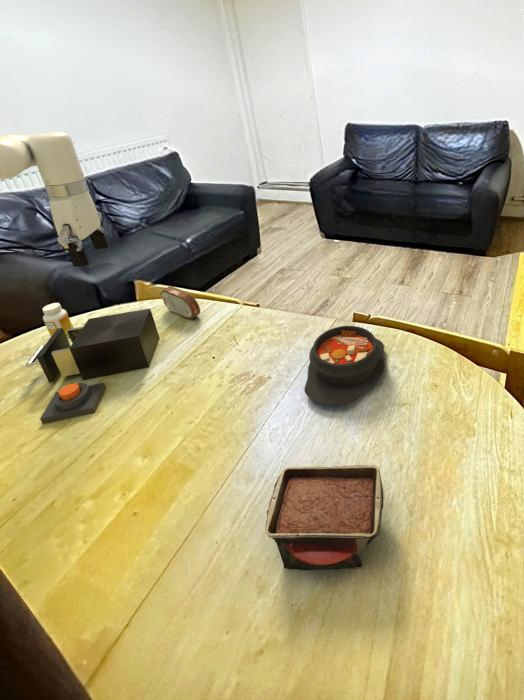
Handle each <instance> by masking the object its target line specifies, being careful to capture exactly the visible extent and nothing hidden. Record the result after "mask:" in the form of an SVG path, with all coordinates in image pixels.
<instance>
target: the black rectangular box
mask: <svg viewBox="0 0 524 700" xmlns="http://www.w3.org/2000/svg"><path fill="white" fill-rule="evenodd" d="M83 326H84V327H83ZM83 326H82V327H83V328H82V330H81V331H80V333H79V334H78V336H77V338H76V339H75V341H74V342H73V344H70V346H71V347H70V348H69V349H70V351H71V354H72V356H73V358H74V360H75V363H76V365H77V367H78V370H79V372H80V377H81V379H82V381H84V382H85V381H89V380H95V379H99V378H103V377H109V376H114V375H118V374H123V373H128V372H129V373H130V372H134V371H139V370H144V369H149V368H150V366H151V364H152V361H153V358H154V355H155V352H156V349H157V346H158V343H159V341H160V335H159V331H158V328H157V325H156V322H155V318H154V316H153V312H152V310H151V308H145V309H138V310H131V311H126V312H121V313H115V314H108V315H103V316H97V317H90V318H88V319H87V321H86V322H85V324H84V325H83Z"/></svg>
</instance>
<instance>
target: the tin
mask: <svg viewBox="0 0 524 700" xmlns="http://www.w3.org/2000/svg"><path fill="white" fill-rule="evenodd" d="M160 296H161V300H162V301H163V304H164V306H165V307H166V308H167V309H168V310H169V311H170V312H172V313H174V314H176V315H178V316H180V317H182V318H186V319H187V320H192V319H195V318H196V317H197V316H199V315H200V314H201V307H200V305H199V303H198V301H197V299H196V298H195V297H194V296H193V295H192V293H191V294H190V293H189V292H187V291H184V290H182V289H179V288H177V287H175V286H172V285H169V286H168V287H166V288H164V289H162V290H161V292H160Z"/></svg>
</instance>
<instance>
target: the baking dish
mask: <svg viewBox="0 0 524 700" xmlns="http://www.w3.org/2000/svg"><path fill="white" fill-rule="evenodd" d="M381 475H382V474H381V471H380V469H379V467H378V466H377V465H374V464H372V465H371V464H370V465H367V464H366V465H365V464H364V465H363V464H362V465H361V464H359V465H357V464H356V465H334V466H333V465H332V466H289V467H285V468H284V469H283V470H282V471H281V473H280V474H279V476H278V477H277V479H276V482H275V483H274V485H273V491H272V495H271V497H270V501H269V505H268V508H267V510H266V522H265V528H264V530H265V534H266V536H267V537H268V538H271V539H272V540H273V541H274V542H275V543H276V546H277V548H278V552H279V554H280V558H281V560H282V561H281V562H282V563H283V569H288V570H293V569H299V570H298V571H330V570H331V571H332V570H333V571H334V570H347V569H348V570H349V569H358V568H362V567H363V562H362V558H363V554H364V552H365V549H366V547H368V545H369V544H371V543H372V542H373V540H375V539H376V538H377V537H378V535H379V534H380V531H381V526H382V525H381V524H382V515H383V514H382V513H383V509H384V486H383V481H382V476H381Z"/></svg>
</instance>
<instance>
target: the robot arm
mask: <svg viewBox="0 0 524 700" xmlns="http://www.w3.org/2000/svg"><path fill="white" fill-rule="evenodd" d="M33 167H37V169H38V172H39V174H40V175H39V176H40V178H41V180H42V182H43V185H44V187H45V190H46V193H47V195H48V198H49V208H50V213H51V217H52V220H53V225H54V227H55V230H56V232H57V236H58V237H57V238H56V239H57V240H56V241H57V242H58V244H59V245H60V246H61V248H62V249H63V250H65V252H66V253H68V256H69V259H70V261H71V263H72V266H73V267H74V268H76V267H77V268H78V267H88V266H89V265H90V262H89V259H88V257H87V254H86V250H85V249H84V248H83V241H84V240H85V239H87V237H89V239H90V242H91V244H92V247H93V249H94V250H101V249H103V250H104V249H108V248H109V244H108V241H107V239H106V235H105V229H104V227H103V224H104V222H103V219H102V218H103V217H102V213H101V212H100V211H97V207H96V205H95V203H94V200H93V198H92V196H91V194H90V189H89V186H88V184H87V183H88V182H87V180H86V178H85V175H84V171H83V168H82V165H81V163H80V159H79V156H78V153H77V150H76V148H75V145H74V142H73V139H72V137H71V136H70V135H69V134H68V133H67V132H61V131H52V132H42V133H38V134H3V135H0V180H5V179H12V178H15V177H18V175H20V174H22V173H23V172H24V171H26V170H28V169H30V168H33ZM73 242H75V243H73Z"/></svg>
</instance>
